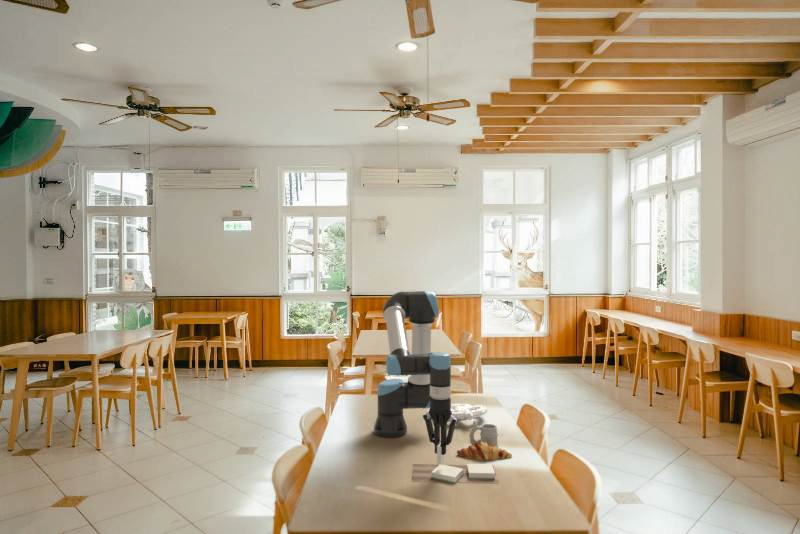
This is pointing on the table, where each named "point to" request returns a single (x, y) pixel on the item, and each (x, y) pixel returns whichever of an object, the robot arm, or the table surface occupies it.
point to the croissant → (483, 452)
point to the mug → (484, 434)
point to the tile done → (480, 471)
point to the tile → (447, 473)
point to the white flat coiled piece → (466, 411)
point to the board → (424, 475)
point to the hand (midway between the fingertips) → (440, 462)
